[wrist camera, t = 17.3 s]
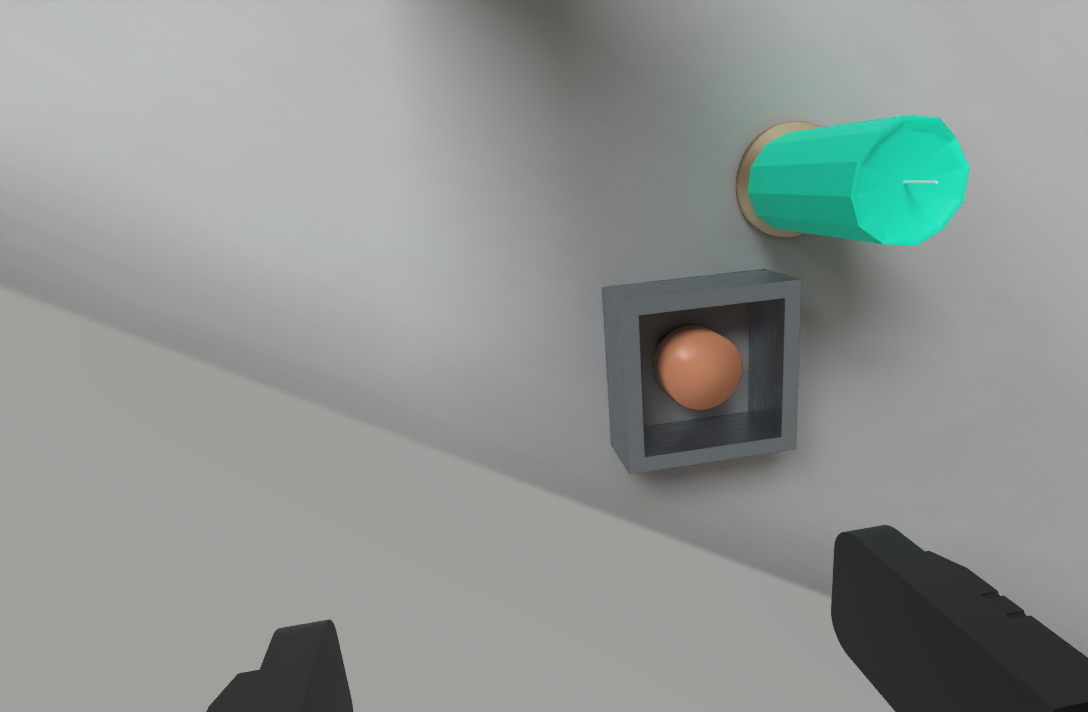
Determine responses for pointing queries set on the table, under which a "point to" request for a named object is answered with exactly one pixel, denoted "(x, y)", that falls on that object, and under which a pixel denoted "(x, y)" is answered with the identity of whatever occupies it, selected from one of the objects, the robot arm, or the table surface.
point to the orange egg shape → (697, 367)
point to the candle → (862, 180)
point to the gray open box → (768, 370)
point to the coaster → (744, 175)
